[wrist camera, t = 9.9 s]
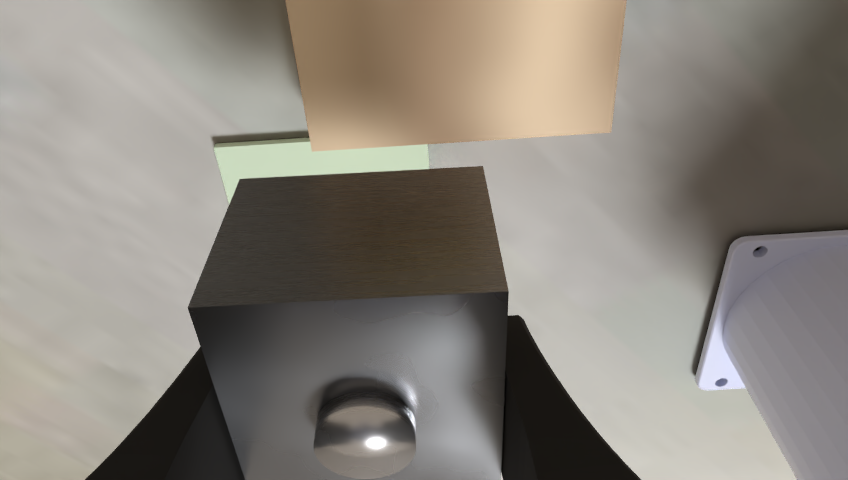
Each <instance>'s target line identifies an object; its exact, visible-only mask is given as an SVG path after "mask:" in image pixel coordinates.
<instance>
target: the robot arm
mask: <svg viewBox="0 0 848 480" xmlns="http://www.w3.org/2000/svg"><path fill="white" fill-rule="evenodd" d="M760 246H762V247H761V248H760V249H759V250H757V251H754V250H755V249H756V248H757V247H760ZM695 381H696V383H697V385H698V387H699V388H700V389H702V390H722V389H738V388H746V389H747V391H748V393H749V395H750V396H751V398H752V400H753V402H754V404H755V405H756V407H757V409H758V411H759V412H760V414H761V416H762V418H763V420H764V421H765V423H766V425H767V427H768V429H769V430H770V432H771V434H772V436H773V437H774V439H775V441H776V443H777V445H778V446H779V448H780V450H781V452H782V454H783V455H784V457H785V459H786V461H787V462H788V464H789V466H790V468H791V470H792V471H793V473H794V475H795V477H796V479H797V480H848V230H838V231H822V232H806V233H790V234H774V235H758V236H745V237H740V238H738V239H736V240H735V241H734V242H733V243H732V244H731V245H730V247H729V251H728V254H727V258H726V262H725V266H724V270H723V273H722V277H721V281H720V285H719V289H718V293H717V296H716V300H715V304H714V308H713V312H712V316H711V319H710V323H709V327H708V331H707V335H706V338H705V342H704V346H703V350H702V354H701V358H700V361H699V365H698V369H697V373H696V377H695ZM501 471H502V476H503V480H641V479H640V478H639V477H638V476H637V475H636V474H635V473H634V472H633V471H632V470H631V469H630V468H629V467H628V466H627V465H626V464H625V463H624V462H623V460H622V459H621V458H620V457H619V456H618V455H617V454H616V453H615V452H614V451H613V449H612V448H611V447H610V446H609V445H608V444H607V443H606V441H605V440H604V439H603V438H602V437H601V436H600V434H599V433H598V432H597V431H596V430H595V428H594V427H593V426H592V425H591V423H590V422H589V421H588V420H587V418H586V417H585V416H584V414H583V413H582V412H581V411H580V409H579V408H578V407H577V405H576V404H575V403H574V401H573V400H572V398H571V397H570V396H569V394H568V393H567V391H566V390H565V388H564V387H563V386H562V384H561V383H560V381H559V380H558V378H557V377H556V375H555V374H554V372H553V371H552V369H551V368H550V366H549V365H548V363H547V361H546V360H545V358H544V357H543V355H542V353H541V352H540V350H539V348H538V346H537V345H536V343H535V341H534V339H533V337H532V336H531V334H530V332H529V330H528V328H527V326H526V324H525V321H524V319H522V318H521V317H520V316H519V315H515V316H507V341H506V366H505V391H504V416H503V441H502V466H501ZM85 480H245V477H244V474H243V471H242V468H241V466H240V463H239V460H238V457H237V454H236V451H235V448H234V445H233V442H232V439H231V436H230V433H229V430H228V427H227V424H226V421H225V418H224V415H223V412H222V409H221V406H220V403H219V400H218V397H217V394H216V391H215V388H214V385H213V382H212V379H211V376H210V373H209V370H208V367H207V364H206V361H205V358H204V355H203V352H202V349H201V347H200V348H199V349H198V351H197V352H196V353H195V355H194V356H193V357H192V359H191V360H190V361H189V363H188V364H187V365H186V366H185V368H184V369H183V370H182V372H181V373H180V374H179V375H178V377H177V378H176V379H175V381H174V382H173V383H172V384H171V386H170V387H169V388H168V389H167V390H166V392H165V393H164V394H163V395H162V397H161V398H160V399H159V400H158V401H157V403H156V404H155V405H154V406H153V408H152V409H151V410H150V411H149V412H148V414H147V415H146V416H145V417H144V418H143V419H142V420H141V421H140V423H139V424H138V425H137V426H136V427H135V428H134V429H133V430H132V432H131V433H130V434H129V435H128V436H127V437H126V438H125V439H124V440H123V442H122V443H121V444H120V445H119V446H118V447H117V448H116V449H115V450H114V451H113V452H112V453H111V454H110V455H109V456H108V457H107V458H106V459H105V461H104V462H103V463H102V464H101V465H100V466H99V467H98V468H97V469H96V470H95V471H93V472H92V473H91V474H90V475H89V476H88V477H87V478H86V479H85Z"/></svg>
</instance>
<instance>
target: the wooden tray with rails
mask: <svg viewBox="0 0 848 480" xmlns="http://www.w3.org/2000/svg"><path fill="white" fill-rule="evenodd" d="M285 1H286V7H287V13H288V18H289V24H290V30H291V35H292V41H293V47H294V52H295V58H296V64H297V70H298V75H299V81H300V87H301V92H302V98H303V104H304V109H305V115H306V121H307V126H308V132H309V138H310V144H311V149H312V152H314V151H329V150H345V149H361V148H376V147H392V146H407V145H423V144H438V143H454V142H469V141H485V140H500V139H516V138H531V137H547V136H562V135H578V134H593V133H609V132H611V128H612V120H613V111H614V103H615V94H616V86H617V77H618V69H619V60H620V52H621V43H622V35H623V26H624V18H625V9H626V1H627V0H285Z"/></svg>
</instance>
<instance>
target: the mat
mask: <svg viewBox="0 0 848 480" xmlns="http://www.w3.org/2000/svg"><path fill="white" fill-rule="evenodd" d="M214 151H215V154H216V158H217V162H218V165H219V169H220V173H221V176H222V180H223V184H224V187H225V191H226V195H227V198H228V202H229V204H230V202H231V199H232V197H233V194H234V192H235V189H236V187H237V184H238V182H239V179H247V178H266V177H285V176H305V175H324V174H343V173H363V172H382V171H401V170H420V169H429V158H428V144H423V145H407V146H392V147H376V148H361V149H345V150H329V151H314V152H312V149H311V144H310V138H295V139H279V140H264V141H248V142H233V143H217V144H215V146H214Z"/></svg>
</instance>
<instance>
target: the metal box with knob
mask: <svg viewBox="0 0 848 480" xmlns="http://www.w3.org/2000/svg"><path fill="white" fill-rule="evenodd" d="M188 310H189V313H190V316H191V319H192V322H193V325H194V328H195V331H196V334H197V337H198V340H199V343H200V346H201V349H202V352H203V355H204V358H205V361H206V364H207V367H208V370H209V373H210V376H211V379H212V382H213V385H214V388H215V391H216V394H217V397H218V400H219V403H220V406H221V409H222V412H223V415H224V418H225V421H226V424H227V427H228V430H229V433H230V436H231V439H232V442H233V445H234V448H235V451H236V454H237V457H238V460H239V463H240V466H241V468H242V471H243V474H244V477H245V480H501V466H502V441H503V416H504V391H505V366H506V341H507V316H508V287H507V282H506V277H505V272H504V267H503V262H502V257H501V253H500V248H499V243H498V238H497V233H496V228H495V223H494V219H493V214H492V209H491V204H490V199H489V194H488V189H487V184H486V180H485V175H484V170H483V166H478V167H459V168H440V169H420V170H401V171H382V172H363V173H343V174H324V175H305V176H285V177H266V178H247V179H239V182H238V184H237V187H236V189H235V192H234V194H233V197H232V199H231V202H230V204H229V207H228V209H227V212H226V214H225V217H224V219H223V222H222V224H221V227H220V229H219V232H218V234H217V236H216V239H215V241H214V244H213V246H212V249H211V251H210V254H209V256H208V259H207V261H206V264H205V266H204V269H203V271H202V274H201V276H200V279H199V281H198V284H197V286H196V289H195V291H194V294H193V296H192V299H191V301H190V304H189V306H188Z"/></svg>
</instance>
